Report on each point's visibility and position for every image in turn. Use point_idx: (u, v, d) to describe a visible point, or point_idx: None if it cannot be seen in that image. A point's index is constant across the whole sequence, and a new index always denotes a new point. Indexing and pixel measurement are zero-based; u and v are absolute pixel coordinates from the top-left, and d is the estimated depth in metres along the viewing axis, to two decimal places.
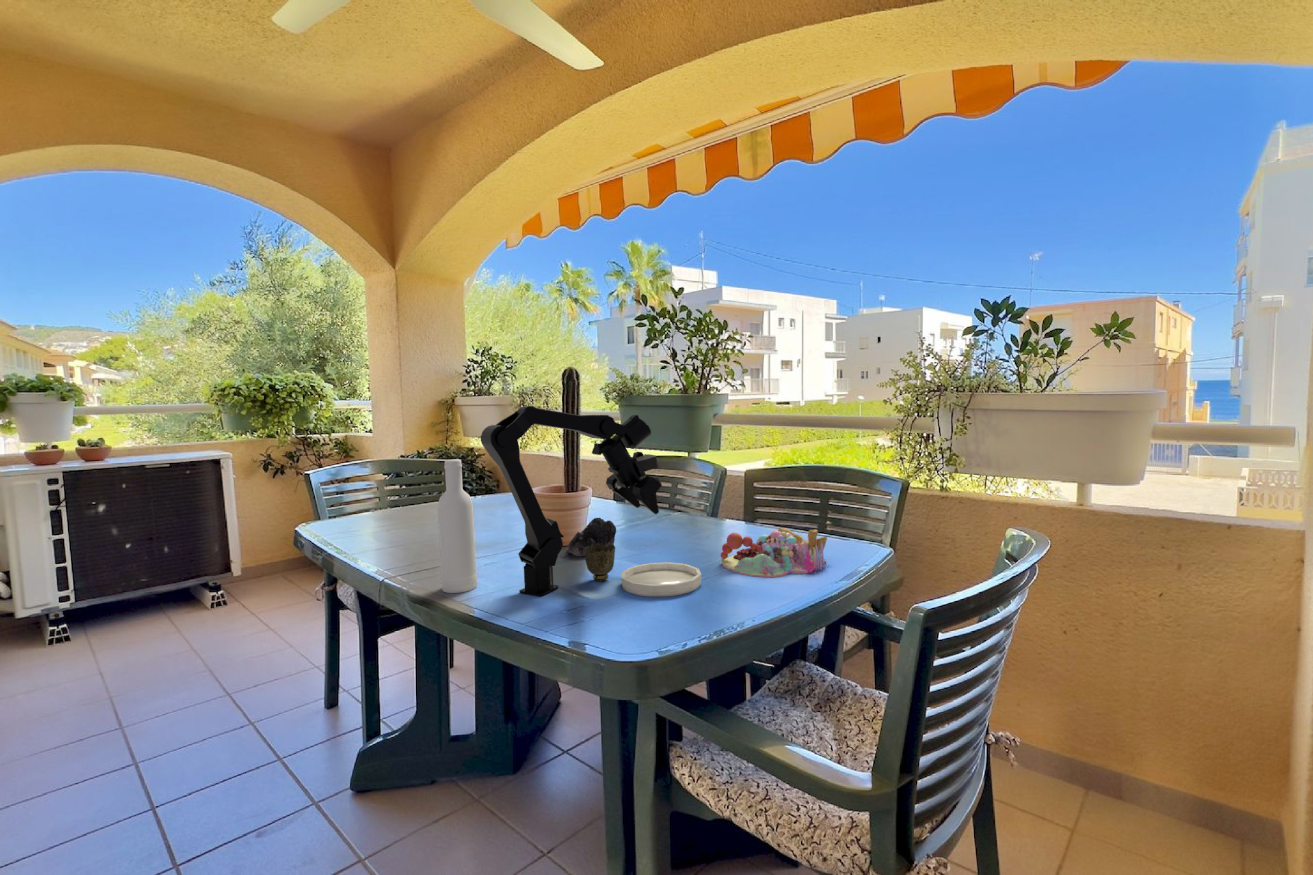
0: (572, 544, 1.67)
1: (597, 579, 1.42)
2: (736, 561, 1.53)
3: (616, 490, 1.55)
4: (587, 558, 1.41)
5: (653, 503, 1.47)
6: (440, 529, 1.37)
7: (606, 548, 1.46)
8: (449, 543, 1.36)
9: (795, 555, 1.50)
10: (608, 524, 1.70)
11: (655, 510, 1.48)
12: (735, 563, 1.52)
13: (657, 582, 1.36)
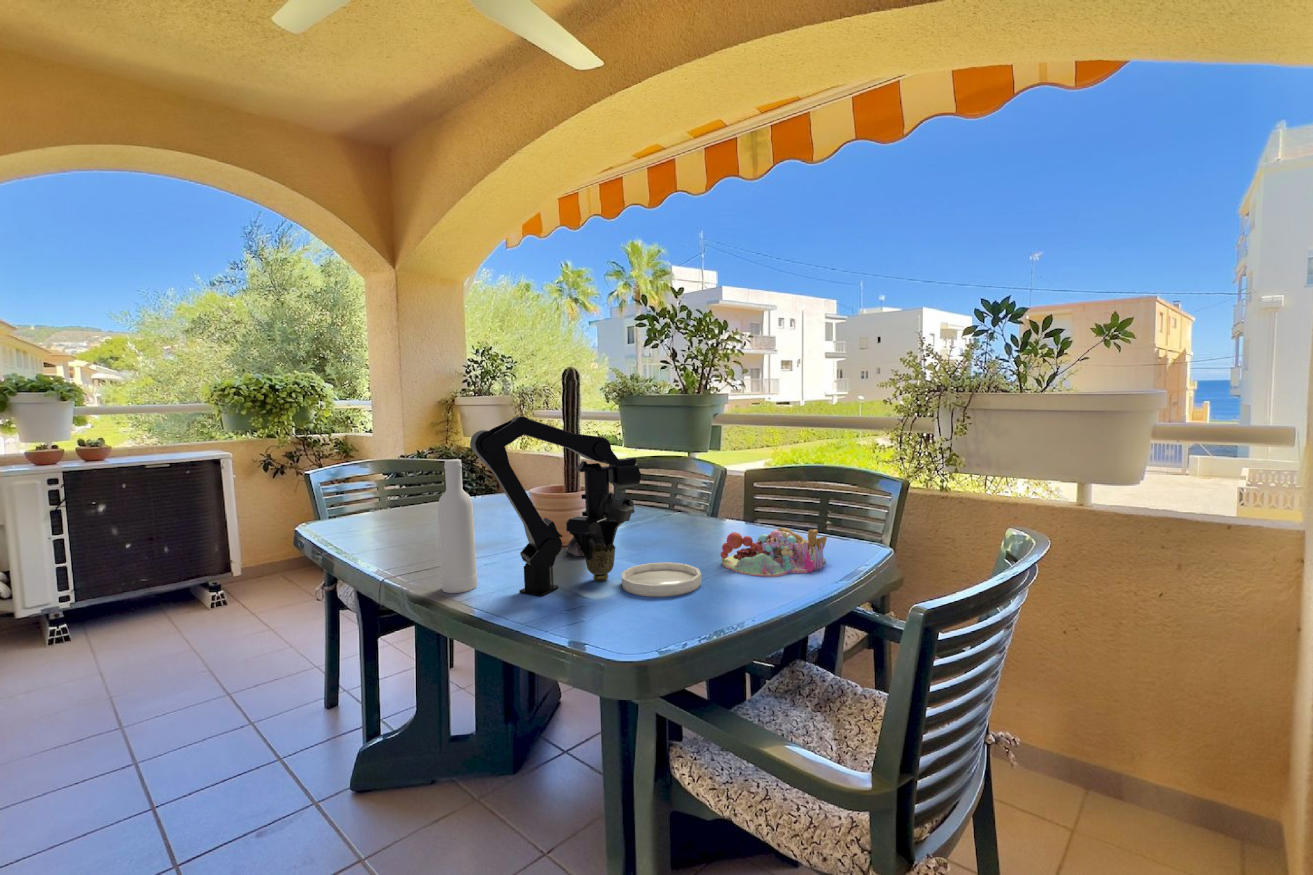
0: (571, 544, 1.67)
1: (597, 579, 1.42)
2: (736, 560, 1.54)
3: None
4: None
5: (585, 546, 1.38)
6: (440, 529, 1.37)
7: (606, 548, 1.46)
8: (449, 543, 1.36)
9: (795, 555, 1.50)
10: None
11: (586, 554, 1.38)
12: (735, 562, 1.52)
13: (657, 582, 1.36)
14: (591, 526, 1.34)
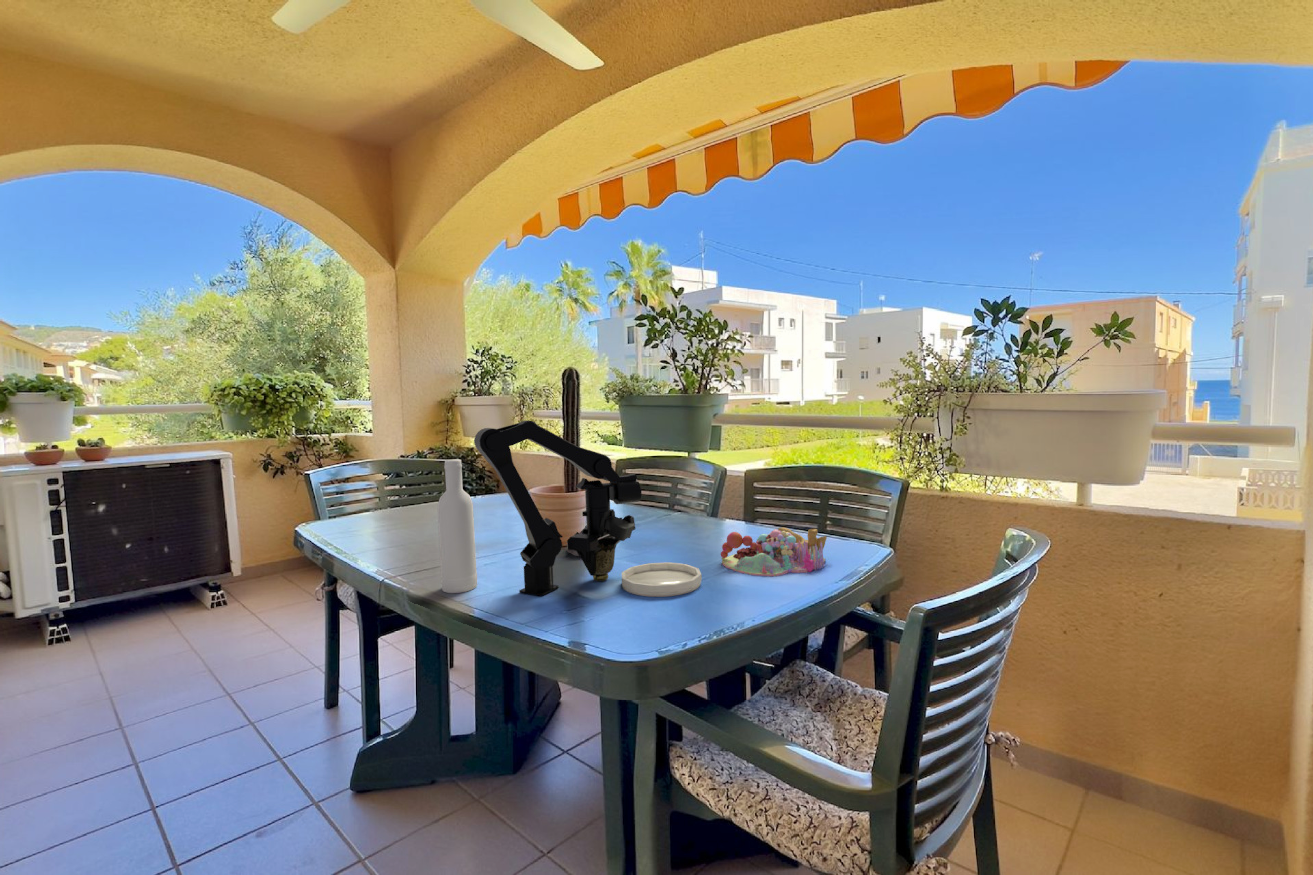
0: None
1: (597, 579, 1.42)
2: (736, 560, 1.54)
3: None
4: None
5: (589, 562, 1.39)
6: (440, 529, 1.37)
7: (606, 548, 1.46)
8: (449, 543, 1.36)
9: (795, 554, 1.51)
10: None
11: (590, 570, 1.40)
12: (735, 562, 1.52)
13: (657, 582, 1.36)
14: (592, 544, 1.34)
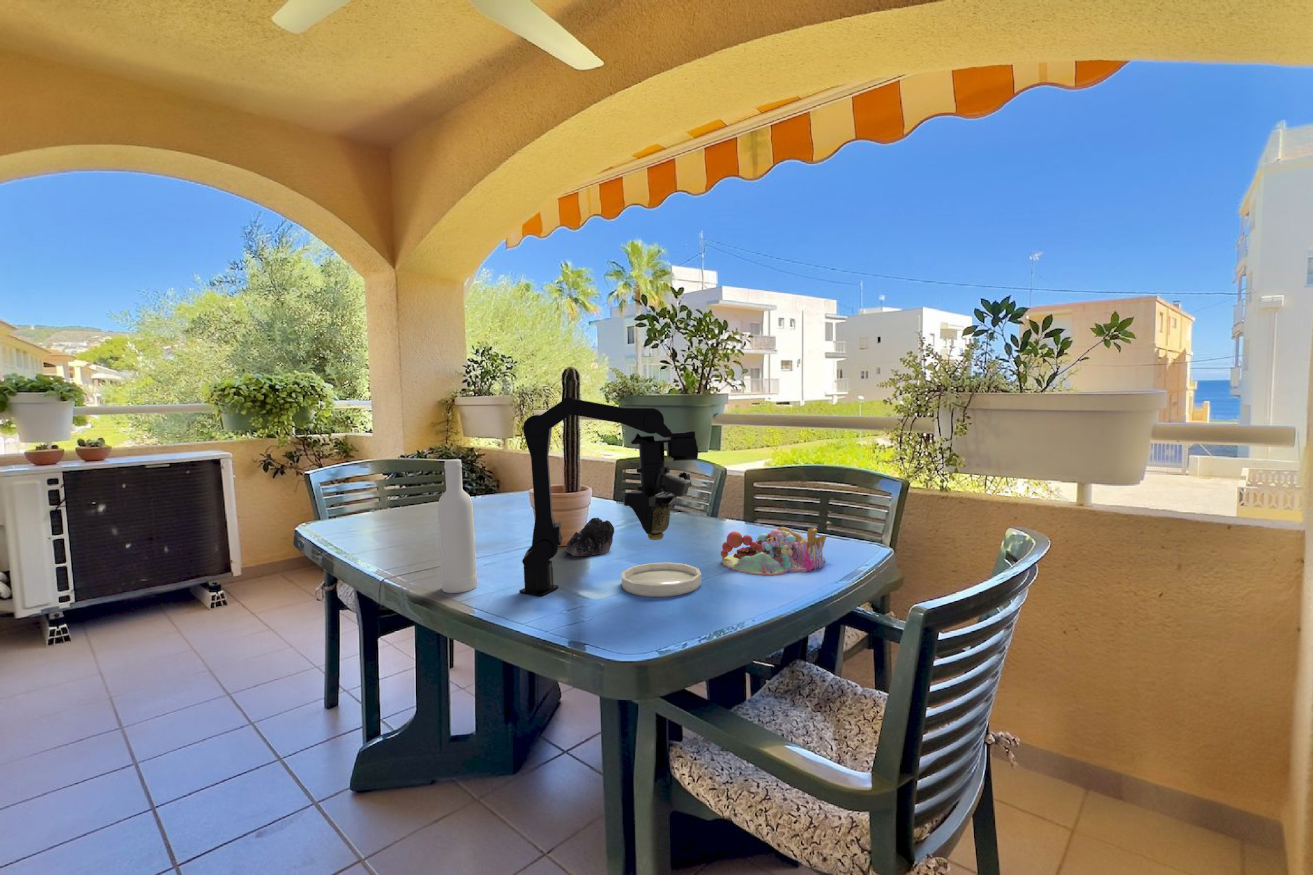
0: (570, 544, 1.67)
1: (653, 538, 1.37)
2: (736, 559, 1.55)
3: None
4: None
5: (645, 520, 1.34)
6: (440, 529, 1.37)
7: (660, 507, 1.41)
8: (449, 543, 1.36)
9: (794, 553, 1.51)
10: (606, 524, 1.70)
11: (646, 529, 1.35)
12: (735, 561, 1.53)
13: (657, 582, 1.36)
14: (650, 499, 1.29)
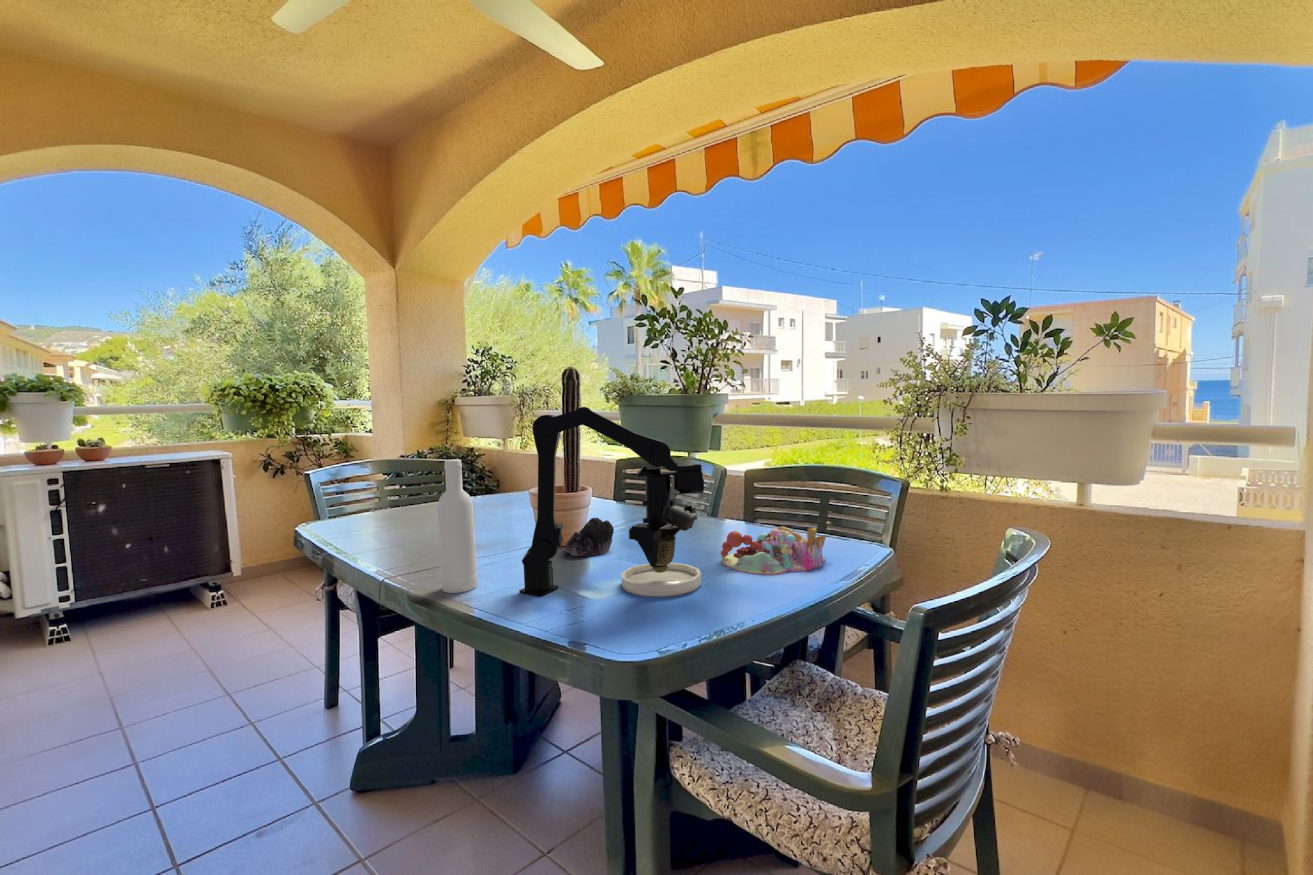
0: (569, 544, 1.67)
1: (657, 570, 1.37)
2: (736, 559, 1.55)
3: None
4: None
5: (650, 553, 1.34)
6: (440, 529, 1.37)
7: (665, 538, 1.41)
8: (449, 543, 1.36)
9: (794, 553, 1.52)
10: (605, 524, 1.70)
11: (651, 561, 1.35)
12: (735, 561, 1.53)
13: (657, 582, 1.36)
14: (656, 534, 1.29)
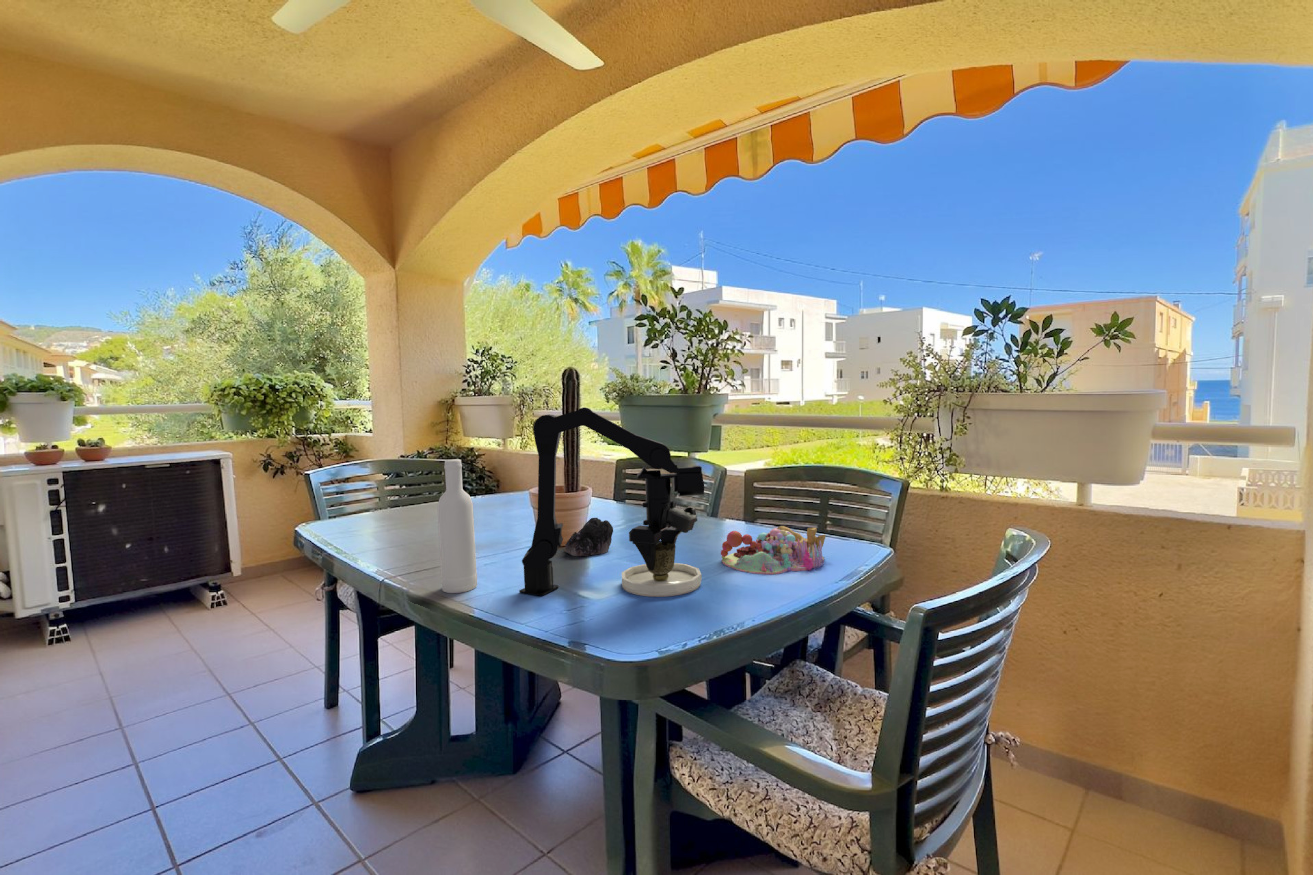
0: (569, 544, 1.67)
1: (658, 579, 1.37)
2: (736, 559, 1.56)
3: None
4: None
5: (648, 556, 1.33)
6: (440, 529, 1.37)
7: (665, 547, 1.41)
8: (449, 543, 1.36)
9: (794, 553, 1.52)
10: (605, 524, 1.70)
11: (649, 565, 1.34)
12: (735, 561, 1.54)
13: (657, 582, 1.36)
14: (656, 536, 1.29)
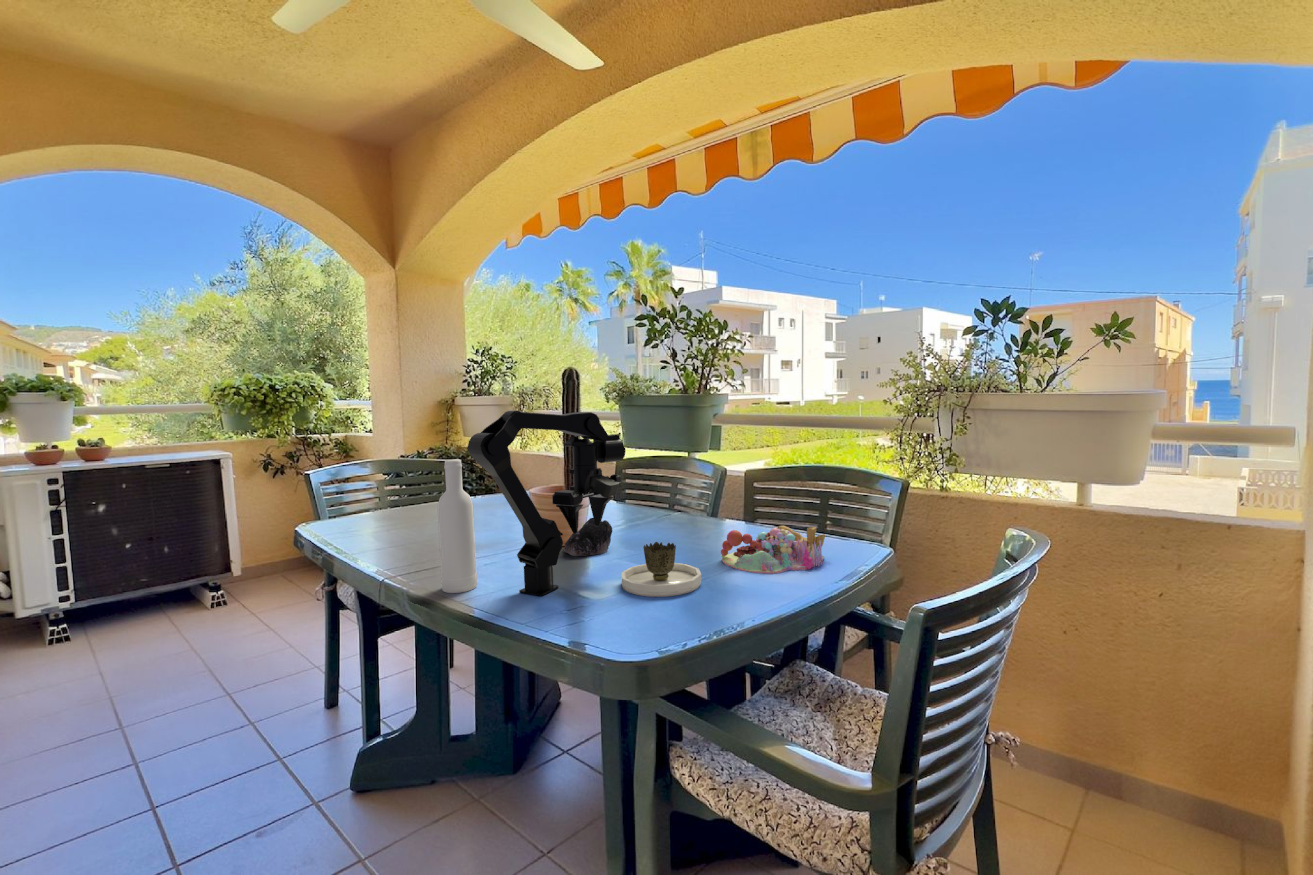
0: (568, 544, 1.67)
1: (658, 579, 1.37)
2: (736, 558, 1.56)
3: (592, 496, 1.51)
4: (648, 557, 1.36)
5: (571, 519, 1.40)
6: (440, 529, 1.37)
7: (665, 547, 1.41)
8: (449, 543, 1.36)
9: (794, 552, 1.53)
10: (604, 524, 1.71)
11: (572, 528, 1.40)
12: (735, 560, 1.54)
13: (657, 582, 1.36)
14: (576, 499, 1.36)
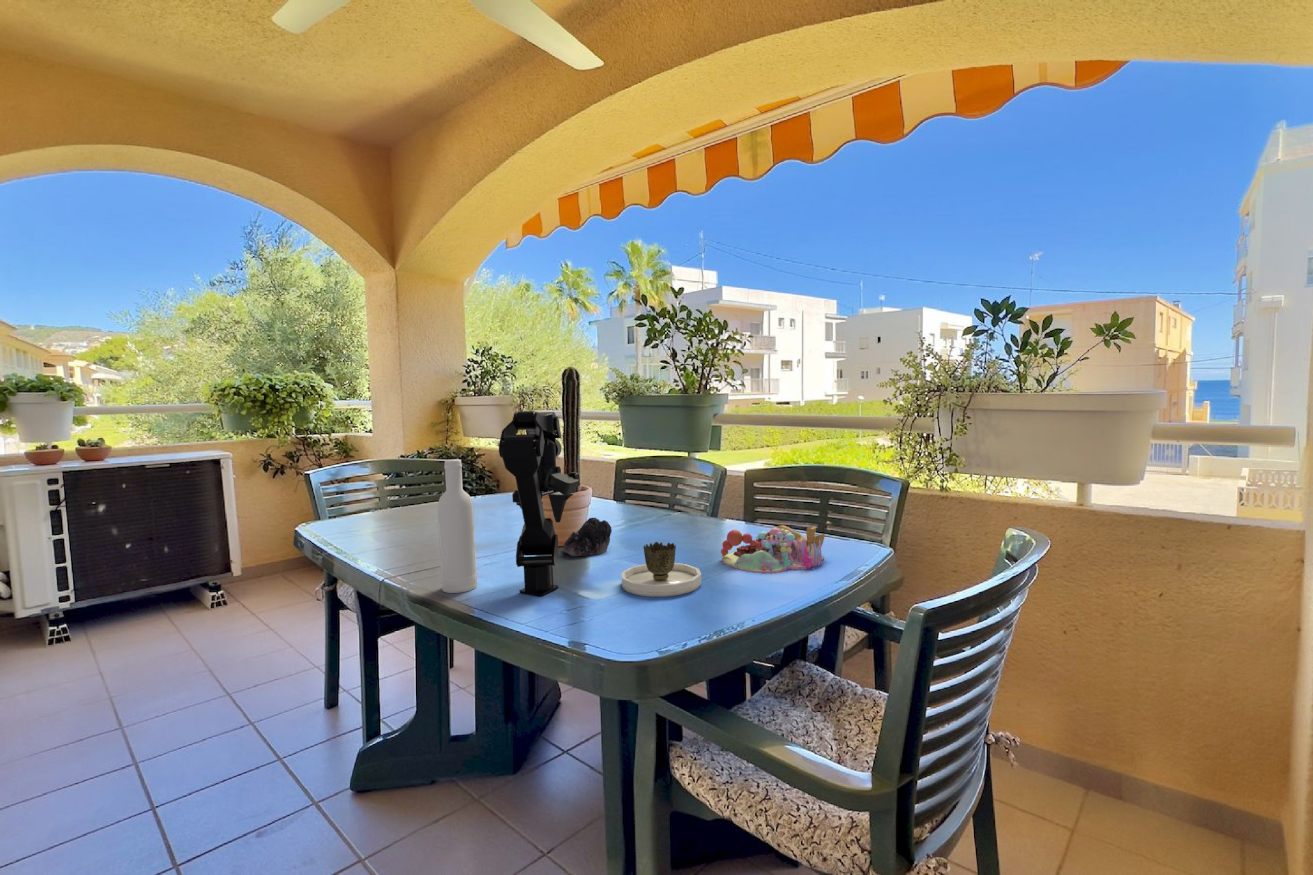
0: (567, 544, 1.67)
1: (658, 579, 1.37)
2: (736, 557, 1.57)
3: (551, 493, 1.55)
4: (648, 557, 1.36)
5: None
6: (440, 529, 1.37)
7: (665, 547, 1.41)
8: (449, 543, 1.36)
9: (794, 552, 1.53)
10: (603, 524, 1.71)
11: None
12: (735, 559, 1.55)
13: (657, 582, 1.36)
14: None
